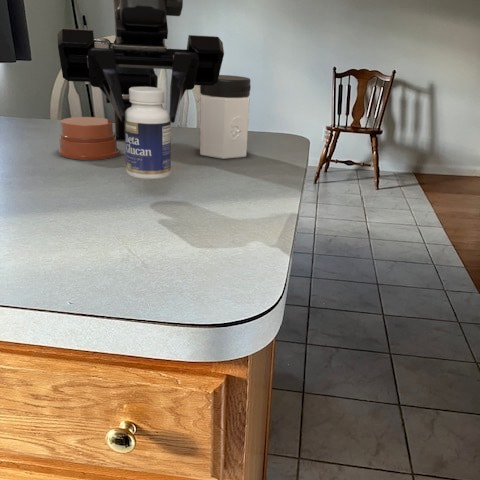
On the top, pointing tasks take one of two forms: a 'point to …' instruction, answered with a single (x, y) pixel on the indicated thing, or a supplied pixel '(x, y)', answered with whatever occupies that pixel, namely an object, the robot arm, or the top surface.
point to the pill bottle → (147, 134)
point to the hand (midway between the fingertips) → (148, 120)
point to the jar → (225, 117)
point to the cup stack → (87, 139)
